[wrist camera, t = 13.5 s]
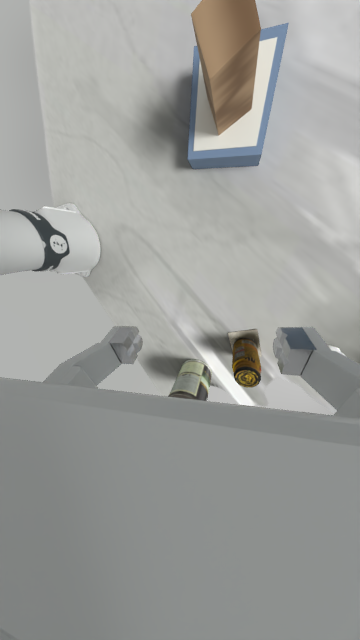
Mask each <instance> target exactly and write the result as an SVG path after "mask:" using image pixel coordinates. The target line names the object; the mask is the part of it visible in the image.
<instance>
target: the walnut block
mask: <svg viewBox="0 0 360 640" xmlns="http://www.w3.org/2000/svg"><path fill="white" fill-rule="evenodd" d="M191 16H192V21H193V26H194V31H195V37H196V42H197V47H198V52H199V57H200V62H201V68H202V73H203V78H204V83H205V88H206V94H207V98H208V101H209V105H210V108H211V112H212V115H213V118H214V122H215V125H216V129H217V132H218V135H220V134H221V133H223V132H224V131H225V130H226V129H228V128H229V127H230V126H231V125H233V124H234V123H235V122H236V121H238V120H239V119H240V118H241V117H243V116H244V115H245V114H246V113H248V112H249V111H250V110H251V109H252V102H253V93H254V84H255V76H256V67H257V58H258V50H259V41H260V33H261V27H260V22H259V17H258V12H257V8H256V3H255V0H202V1H201V2H200V4H199V5H198V6H197V7H196V9H195V10H194V11H193V12H192V14H191Z"/></svg>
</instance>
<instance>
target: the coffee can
mask: <svg viewBox="0 0 360 640" xmlns="http://www.w3.org/2000/svg"><path fill="white" fill-rule="evenodd" d="M211 377H212V372H211V369H210V368H209V366H208V365H207V364H206V363H204V362H202V361H200V360H196V359H191V360H187V361H186V362H184V363H183V365H182V368H181V370H180V372H179V374H178V377H177V379H176V381H175V383H174V385H173V388H172V390H171V392H170V394H169V396H168V397H175V398H184V399H193V400H201V401H207V398H208V392H209V387H210V382H211Z"/></svg>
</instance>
